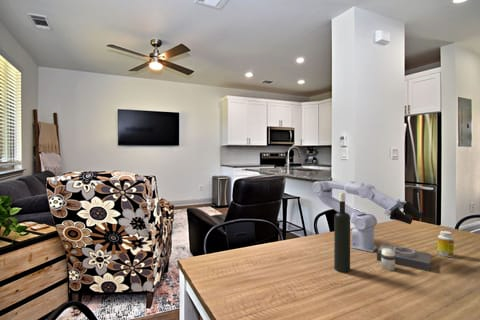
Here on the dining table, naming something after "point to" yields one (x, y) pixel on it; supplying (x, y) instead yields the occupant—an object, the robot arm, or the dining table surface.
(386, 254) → the lens
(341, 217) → the wine bottle
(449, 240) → the supplement bottle
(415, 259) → the camera body
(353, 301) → the dining table surface
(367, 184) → the robot arm
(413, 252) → the mount ring
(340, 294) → the dining table surface
